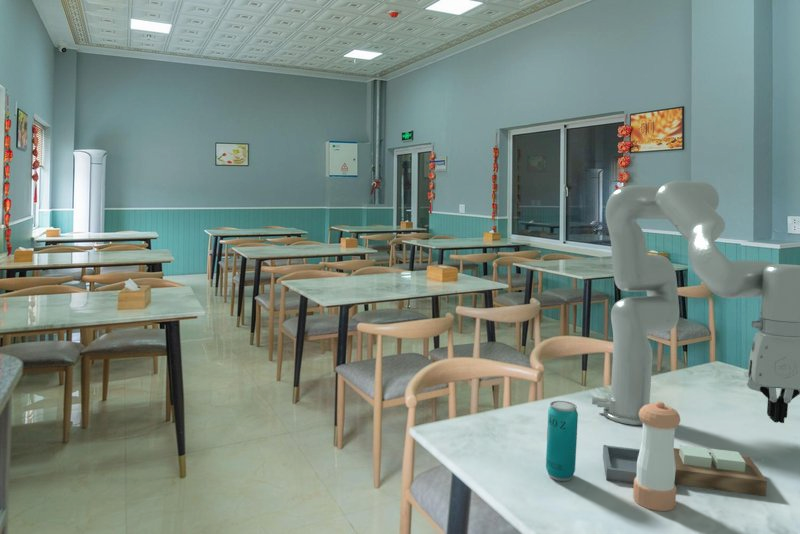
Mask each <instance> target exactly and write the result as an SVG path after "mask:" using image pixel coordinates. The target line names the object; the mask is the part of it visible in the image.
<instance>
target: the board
mask: <svg viewBox="0 0 800 534" xmlns="http://www.w3.org/2000/svg"><path fill="white" fill-rule="evenodd" d="M679 449H680V448H675V447H674V457H675V467H676V471H675V478H676V479H675V485H681V486H688V487H695V488H702V489H710V490H717V491H726V492H733V493H741V494H748V495H756V496H763V497H766V495H767V487H768V486H767V485H768V480H767V479H766V478H765V476H764V475H763V473H762V472H761V471H760V469H759V468H758V466H757V465H756V464H755V463H754V461H753V460H752V458H751V457H750V456H744V455H741V456H742V458H743V459H744V461H745V462H746V463H745V472H741V471H733V470H725V469H717V468H716V466H715V465H714V463H713V461H712V463H711V468H709V467H701V466H693V465H685V464H683V462H682V459H681V457H680V455H679ZM708 452H709V451H708ZM709 454H710V456H711V451H710V452H709Z"/></svg>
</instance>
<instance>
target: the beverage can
mask: <svg viewBox="0 0 800 534" xmlns="http://www.w3.org/2000/svg"><path fill="white" fill-rule="evenodd" d="M549 405H550V407H549V408H548V412H547V414H548V415H547V428H546V429H547V432H546V434H547V435H546V452H545V453H546V455H545V456H546V457H545V458H546V459H545V468H546V472H547V474H548V476H549V477H550V478H551V479H552V480H555V481H558V482H567V481H568V482H569V481H571V479H572V478H573V476H574V474H575V472H576V461H577V460H576V459H577V441H578V440H577V439H578V436H577V435H578V417H579V413H578V410H577V404H575V403H573V402H570V401H566V400H555V401H550V404H549Z"/></svg>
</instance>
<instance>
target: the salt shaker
mask: <svg viewBox="0 0 800 534" xmlns="http://www.w3.org/2000/svg"><path fill="white" fill-rule="evenodd" d="M639 418H640V420H641V421H642V422H643V425H642V429H641V444H640V448H639V449H640V451H639V455H638V460H637V477H635V479H634V484H633V492H632V498H633V501H634V502H635V503H637V504H638V505H639V506H641V507H643V508H645V509H648V510H652V511H656V512H657V511H658V512H668V511H672V510H674V508H676V496H677V486H676V484H674V481H675V471H676V467H675V457H674V448H675V433H676V432H675V429H676V428H677V427H678V426H679V425H680V423H681V416H680V414H679V413H678V411H677V410H676V409H675V408H673V407H671V406H669V405H667V404H665V403H664V402H662V401H656V402H654V403H650V404H648V405H644V406H643V407H642V408H641V409H640V411H639Z"/></svg>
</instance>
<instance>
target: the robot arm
mask: <svg viewBox="0 0 800 534" xmlns="http://www.w3.org/2000/svg"><path fill="white" fill-rule="evenodd" d="M719 204H720V195H719V192H718V191H717V189H716V188H715V186H713V185H712V184H710V183H708V182H705V181H700V180H699V181H698V180H673V181H670V182H666V183H664V184H663V185H646V184H645V185H643V184H633V185H626V186H622V187H619V188H617V189H615V191H613V193H611V194H610V195H609V198H608V199H607V202H606V206H605V212H604V214H605V221H606V226H607V229H608V234H609V239H610V248H611V251H610V252H611V259H612V260H611V261H612V270H613V280H614V283H615V285H616V287H617V288H618V289H619V290H620V291H623V292H629V293H630V292H631V293H632V292H635V293H636V292H646V296H645V295H644V296H642V295H641V296H629V297H624V298H622V299H620V300H618V301H616V302H615V303H614V304H613V306H612V308H611V311H610V321H611V328H612V336H613V339H612V342H613V343H612V344H613V345H612V346H613V347H612V366H611V367H612V368H611V382H610V383H611V388H610V394H609V393H608V397H606V396H604V397H603V398H602V397H597V396H596V397H595V396H591V405H596V407H597V408H603V415H604V416H605V417H606V418H607V419H610V420H611V421H614V422H618V423H620V424H625V425H632V426H643V422H642V421H641V420H640V418H639V411H640V409H641V408H642V407H643V406H644V405H648V404H651V403H650V400H651V388H652V369H653V353H654V352H653V347H652V345H651V343H650V341H649V338H648V336H647V334H655V333H665V332H666V333H667V332H669V331H671V330H673V329H674V328H676V326H677V325H678V323H679V319H680V304H679V301H680V300H679V291H678V281H677V273H676V269H675V267H674V265H673V263H672V261H670V260H669V258H667V257H666V256H663V255H660V254H649V253H648V250H647V238H646V235H645V232H644V231H643V229H642V228H641V226H640V224H638V222H637V220H668V221H669V223H670V224H671V225H672V226H673V227H674V228H675V229H676V231H678V233H679V234H680V235H681V236H682V237H683V238H684V240H685V241H686V242H687V244H688V248H687V255H688V259H689V263H690V266H691V269H692V270H693V272H694V273H695V274H696V276H697V277H698V278H699V280H700V281H702V283H703V284H704V286H705V287H707V288H708V290H710V291H711V292H712V293H713V294H715V295H716V296H718V297H720V298H724V299H740V298H742V299H743V298H760V299H761V302H760V316H759V317H758V319H757V320H752V321H751V328H753V329H754V328H755V329H757V330H758V331H759V332H756V333H755V335H754V337H753V341H752V345H751V349H750V354H749V358H748V359H749V361H748V369H747V374H748V375H747V376H748V381H747V383H746V386H747V387H748V389H750V390H752V391H756V392H760V393H762V394H763V395H764V396H765V397H766V398H767V405H766V406H767V407H766V409H767V410H766V414H767V416H768V417H769V419H771V420H772V422H773V423H776V424H777V423H780V424H785V419H787V417H788V412H789V410H788V409H789V404H790V403H791V401H793V399H794V398H796V397H798V396H799V395H800V264H799V265H798V264H787V263H785V264H784V263H774V262H769V261H766V260H730V259H729V258H727V256H725V254H724V253H723V252H722V251H721V250H720V249H719V248H718V246H717V245H716V242H715V241H716V240H718V239H719V237H721V235H722V234H723V232H724V231H725V228H726V222H725V220H724V219H723V217H722V216H721V215H720V214H719V213H718V212H717V211H716V210H717V209H718V207H719ZM777 389H780V390H779V395H778V396H777Z"/></svg>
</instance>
